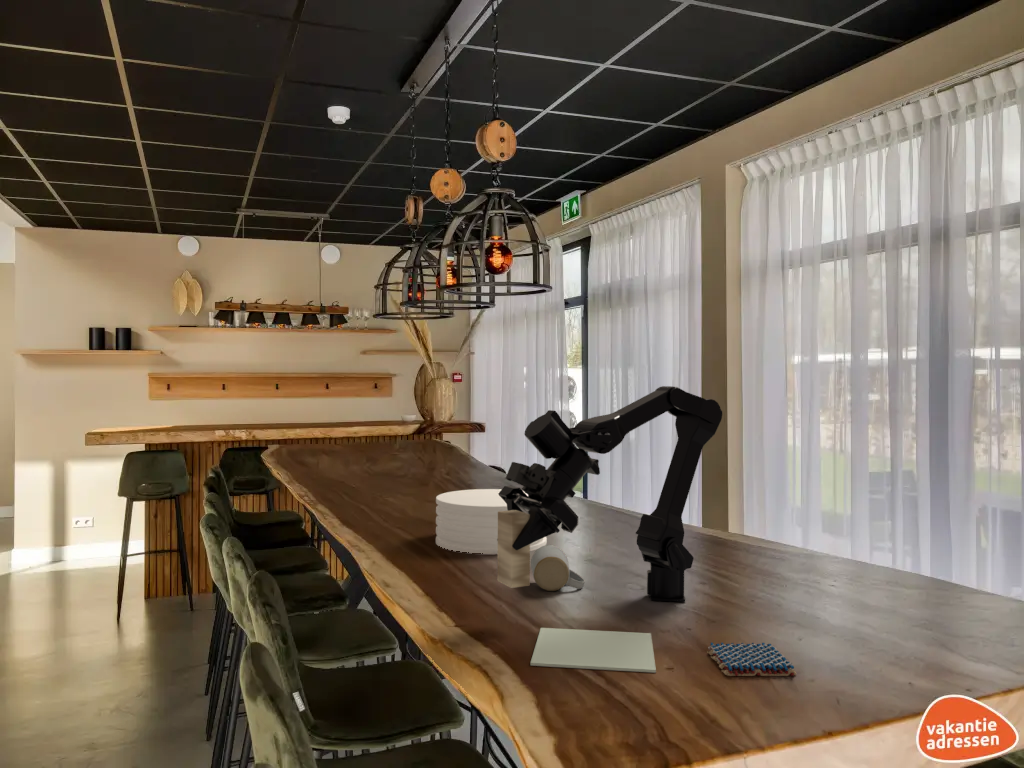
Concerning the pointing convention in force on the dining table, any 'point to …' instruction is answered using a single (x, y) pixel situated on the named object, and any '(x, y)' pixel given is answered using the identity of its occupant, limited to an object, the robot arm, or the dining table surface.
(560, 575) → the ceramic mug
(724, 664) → the woven mat
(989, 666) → the dining table surface
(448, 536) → the plate stack
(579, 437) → the robot arm
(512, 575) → the beige rectangular block
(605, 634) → the sage placemat
